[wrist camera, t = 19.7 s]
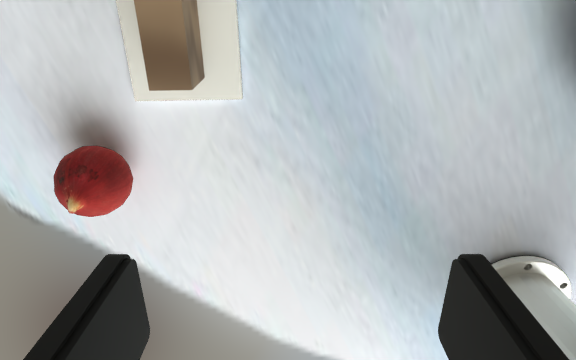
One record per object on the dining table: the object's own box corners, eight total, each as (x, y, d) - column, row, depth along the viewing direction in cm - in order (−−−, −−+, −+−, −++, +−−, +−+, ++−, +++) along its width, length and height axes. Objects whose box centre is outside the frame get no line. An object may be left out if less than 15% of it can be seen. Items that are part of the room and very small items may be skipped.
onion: (66, 153, 33) (8, 193, 26) (115, 122, 32) (69, 155, 25) (110, 201, 36) (68, 250, 29) (157, 173, 35) (125, 217, 27)
